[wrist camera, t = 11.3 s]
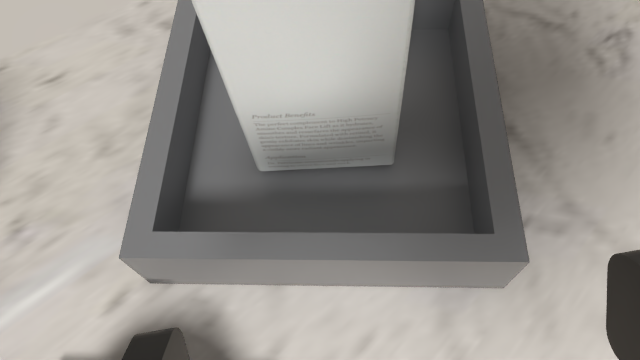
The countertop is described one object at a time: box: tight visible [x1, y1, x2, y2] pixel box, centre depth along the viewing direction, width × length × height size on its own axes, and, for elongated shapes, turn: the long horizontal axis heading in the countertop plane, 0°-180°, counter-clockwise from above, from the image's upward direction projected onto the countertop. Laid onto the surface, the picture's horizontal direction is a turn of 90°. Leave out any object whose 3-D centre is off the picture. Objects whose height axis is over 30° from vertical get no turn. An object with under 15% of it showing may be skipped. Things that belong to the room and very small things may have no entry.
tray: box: [119, 0, 529, 288], centre depth 21 cm, size 14×14×3 cm
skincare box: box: [191, 0, 415, 171], centre depth 17 cm, size 6×4×12 cm
